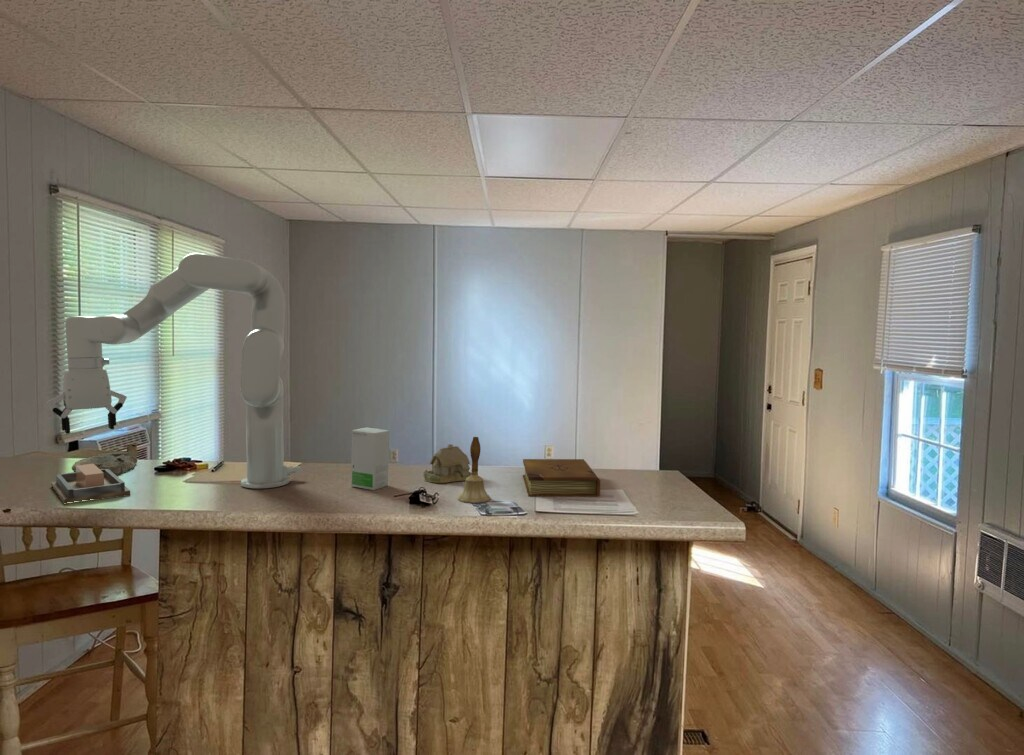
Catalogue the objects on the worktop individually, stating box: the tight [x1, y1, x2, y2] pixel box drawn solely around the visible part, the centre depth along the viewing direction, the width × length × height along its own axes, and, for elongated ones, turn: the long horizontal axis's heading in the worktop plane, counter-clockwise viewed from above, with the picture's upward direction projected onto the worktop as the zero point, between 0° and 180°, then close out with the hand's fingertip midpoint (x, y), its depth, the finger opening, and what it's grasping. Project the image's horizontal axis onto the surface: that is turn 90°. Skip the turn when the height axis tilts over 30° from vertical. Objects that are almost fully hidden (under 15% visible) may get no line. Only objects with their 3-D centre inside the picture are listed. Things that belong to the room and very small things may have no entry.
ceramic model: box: [423, 444, 472, 484], centre depth 190 cm, size 14×11×10 cm
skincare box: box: [350, 426, 390, 491], centre depth 180 cm, size 8×7×16 cm
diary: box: [522, 458, 601, 498], centre depth 184 cm, size 23×19×6 cm
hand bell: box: [457, 436, 491, 504], centre depth 168 cm, size 8×8×16 cm
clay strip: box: [76, 464, 104, 488], centre depth 172 cm, size 4×14×4 cm, turn 41°
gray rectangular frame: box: [50, 469, 131, 504], centre depth 172 cm, size 14×22×3 cm, turn 41°
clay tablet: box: [71, 451, 138, 476], centre depth 197 cm, size 14×5×20 cm
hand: (89, 430), depth 171 cm, fingers open, 9 cm apart
